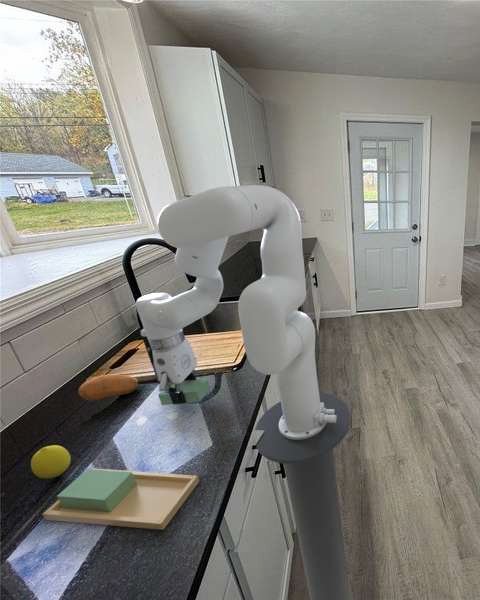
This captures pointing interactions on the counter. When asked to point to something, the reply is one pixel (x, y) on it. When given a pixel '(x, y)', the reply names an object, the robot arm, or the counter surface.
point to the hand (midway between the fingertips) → (186, 394)
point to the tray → (136, 503)
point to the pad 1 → (97, 490)
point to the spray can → (149, 351)
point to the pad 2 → (188, 391)
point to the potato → (107, 387)
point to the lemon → (50, 461)
